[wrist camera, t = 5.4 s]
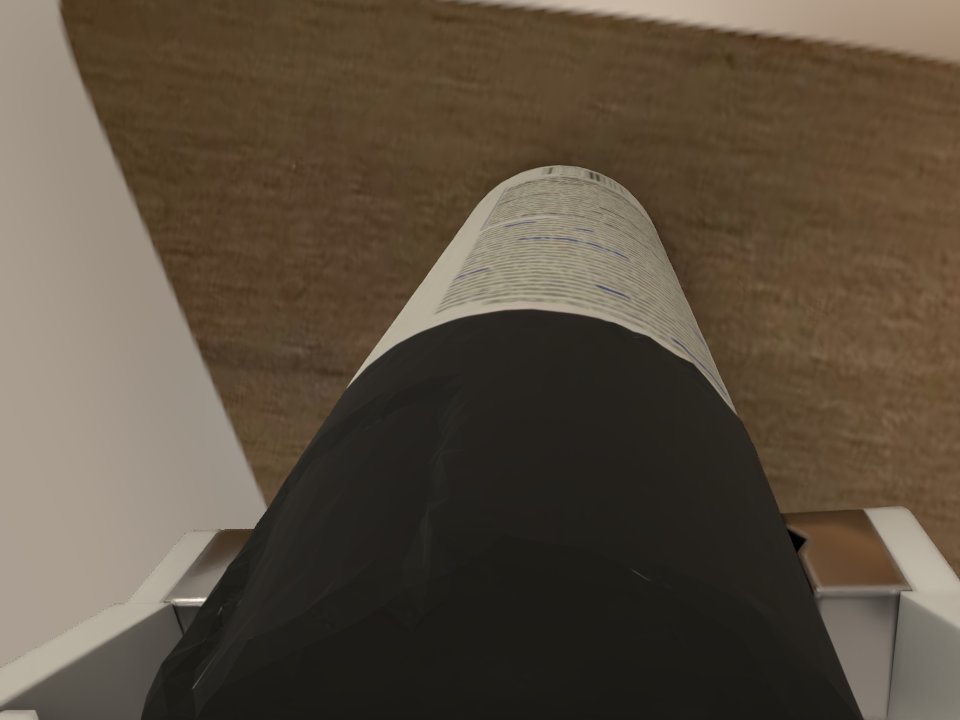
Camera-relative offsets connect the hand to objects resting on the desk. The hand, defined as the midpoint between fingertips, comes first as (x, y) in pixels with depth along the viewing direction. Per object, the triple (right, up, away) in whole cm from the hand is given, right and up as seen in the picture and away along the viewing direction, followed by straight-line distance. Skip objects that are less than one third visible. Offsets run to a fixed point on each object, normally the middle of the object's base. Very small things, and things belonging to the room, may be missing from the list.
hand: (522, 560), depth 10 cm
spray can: (+2, +6, +14) cm, 16 cm away
